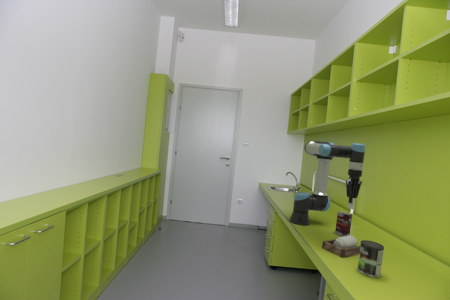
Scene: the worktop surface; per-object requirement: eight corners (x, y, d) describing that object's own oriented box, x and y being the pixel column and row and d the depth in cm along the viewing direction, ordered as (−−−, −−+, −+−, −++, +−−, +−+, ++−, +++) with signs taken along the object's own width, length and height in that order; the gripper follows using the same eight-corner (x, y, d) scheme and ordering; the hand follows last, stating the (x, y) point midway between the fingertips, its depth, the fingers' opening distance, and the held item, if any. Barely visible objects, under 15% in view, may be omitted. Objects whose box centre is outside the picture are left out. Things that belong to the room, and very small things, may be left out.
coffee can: (365, 276, 128) (368, 247, 127) (353, 266, 138) (356, 239, 137) (385, 278, 128) (389, 249, 128) (372, 267, 139) (375, 240, 138)
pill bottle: (355, 251, 162) (341, 255, 153) (343, 244, 168) (329, 247, 159) (359, 239, 160) (345, 242, 152) (347, 232, 167) (332, 235, 158)
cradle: (321, 247, 160) (322, 241, 160) (343, 243, 171) (343, 237, 171) (343, 257, 148) (343, 250, 148) (364, 252, 159) (365, 246, 159)
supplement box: (334, 234, 190) (337, 211, 189) (338, 233, 193) (340, 211, 192) (346, 238, 183) (349, 215, 183) (350, 237, 186) (352, 214, 186)
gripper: (354, 170, 154) (349, 210, 154) (367, 170, 160) (363, 209, 161) (342, 168, 160) (338, 207, 161) (356, 168, 167) (351, 206, 168)
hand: (350, 208), depth 161 cm, fingers closed
